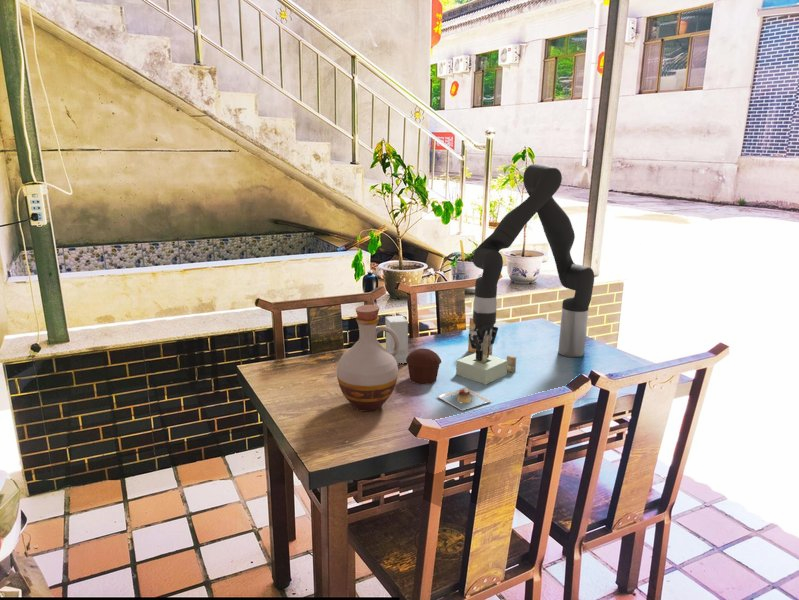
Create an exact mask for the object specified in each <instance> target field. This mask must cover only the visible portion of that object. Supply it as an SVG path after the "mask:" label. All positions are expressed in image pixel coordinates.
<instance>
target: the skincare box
mask: <svg viewBox="0 0 799 600" xmlns="http://www.w3.org/2000/svg"><path fill="white" fill-rule="evenodd" d="M384 319H385V326H386V327H389V328H391V329H392V330H393V331H394V332H395V333H396V335H397V337H398V339H399V349H398V352H397V354H396V355H395V356H393V357H394V358H395V360H396V362H397V363H398V364H397V365H403V364H404V363H407V362H406V358H407V357H408V355H409V321H408V320H407V319H406V318H405V317H404V316H403V315H402V314H401V315H392V316H390V315H389V316H385V318H384ZM385 349H386V350H387V351H389V352H392V351H393V350H394V339H393V338H392V336H391V335H390V334H389V333H388V332H386V331H385ZM399 363H400V364H399ZM401 363H402V364H401ZM404 365H405V364H404Z"/></svg>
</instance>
